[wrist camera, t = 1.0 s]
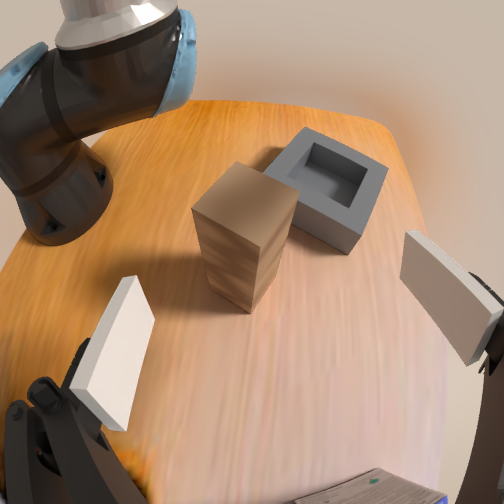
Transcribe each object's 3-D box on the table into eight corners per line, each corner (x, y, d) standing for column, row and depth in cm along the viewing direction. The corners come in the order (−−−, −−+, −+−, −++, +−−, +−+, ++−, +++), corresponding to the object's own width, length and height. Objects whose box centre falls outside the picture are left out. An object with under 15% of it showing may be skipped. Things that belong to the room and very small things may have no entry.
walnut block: (210, 289, 29) (191, 208, 17) (236, 253, 32) (236, 161, 19) (250, 314, 28) (260, 247, 16) (275, 276, 30) (299, 191, 18)
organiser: (254, 204, 35) (256, 179, 31) (299, 149, 40) (304, 126, 36) (347, 255, 32) (361, 235, 28) (377, 189, 38) (388, 168, 34)
